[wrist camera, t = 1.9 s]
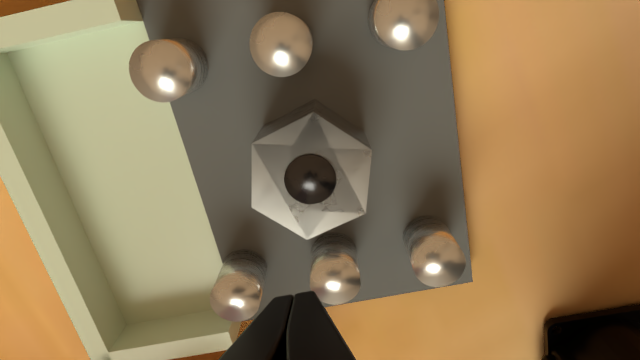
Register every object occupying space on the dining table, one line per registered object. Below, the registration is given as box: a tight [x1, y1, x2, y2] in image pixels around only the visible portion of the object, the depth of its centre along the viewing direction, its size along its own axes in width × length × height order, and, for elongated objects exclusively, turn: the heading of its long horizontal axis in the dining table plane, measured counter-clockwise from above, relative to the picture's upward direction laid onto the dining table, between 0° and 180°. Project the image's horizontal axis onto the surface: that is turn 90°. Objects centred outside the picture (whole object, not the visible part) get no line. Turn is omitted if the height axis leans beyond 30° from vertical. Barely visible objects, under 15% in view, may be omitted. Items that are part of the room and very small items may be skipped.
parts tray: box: [0, 0, 242, 360], centre depth 19 cm, size 7×16×3 cm, turn 12°
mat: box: [136, 0, 473, 321], centre depth 19 cm, size 12×16×1 cm
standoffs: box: [129, 0, 466, 322], centre depth 18 cm, size 11×12×3 cm
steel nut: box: [252, 99, 372, 240], centre depth 18 cm, size 5×4×3 cm
